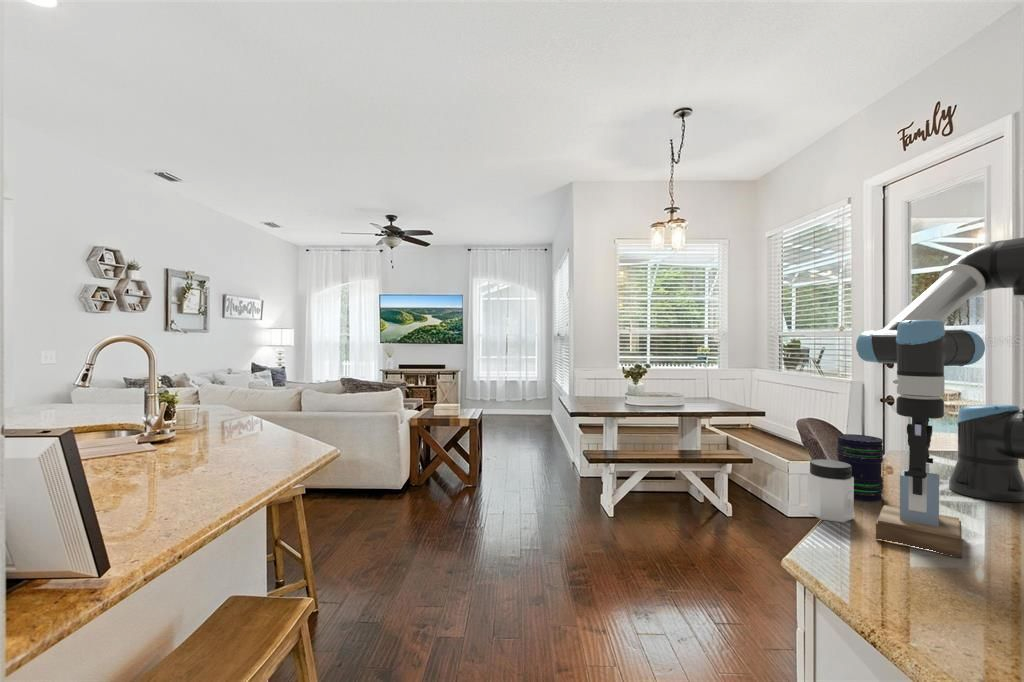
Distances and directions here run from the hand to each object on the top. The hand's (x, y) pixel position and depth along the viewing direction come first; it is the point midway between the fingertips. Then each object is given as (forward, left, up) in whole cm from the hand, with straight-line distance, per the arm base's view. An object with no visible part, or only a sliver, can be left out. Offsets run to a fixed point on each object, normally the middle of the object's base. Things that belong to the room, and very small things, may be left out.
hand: (919, 502), depth 104 cm
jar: (-4, -16, -8) cm, 18 cm away
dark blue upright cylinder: (-26, -13, -8) cm, 30 cm away
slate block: (0, 0, -3) cm, 3 cm away
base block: (0, 0, -7) cm, 7 cm away
